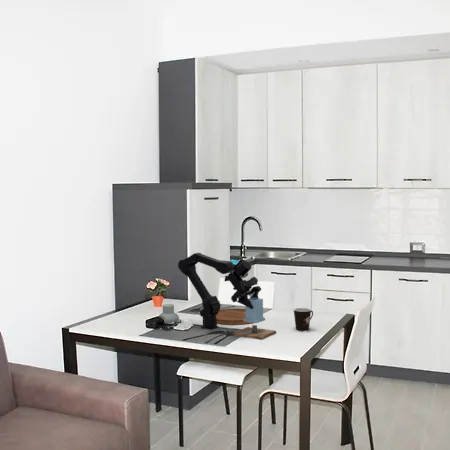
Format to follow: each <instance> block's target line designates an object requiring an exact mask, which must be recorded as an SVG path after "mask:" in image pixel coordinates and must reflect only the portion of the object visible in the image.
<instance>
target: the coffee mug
mask: <svg viewBox="0 0 450 450" xmlns="http://www.w3.org/2000/svg"><path fill="white" fill-rule="evenodd" d="M293 316H294V324H295V330H296V331H297V330H298V331H297V332H308V331H309V330H310V322H311V320H312V318H313V316H314V311H313V310H312V309H311V308H307V307H296V308H294V309H293ZM307 330H308V331H307Z"/></svg>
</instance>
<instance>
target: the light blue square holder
mask: <svg viewBox="0 0 450 450" xmlns="http://www.w3.org/2000/svg"><path fill="white" fill-rule="evenodd" d="M248 299H249V301H250V302H251V304H252V306H253V309H250V308H249V307H247V306H245V309H246V318H245V319H243V321H246V322H252V323H253V324H258V323H261V322H264V321H266V318H265V317H264V299H263V298H259V297H258V298H250V297H248ZM263 317H264V318H263Z"/></svg>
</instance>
